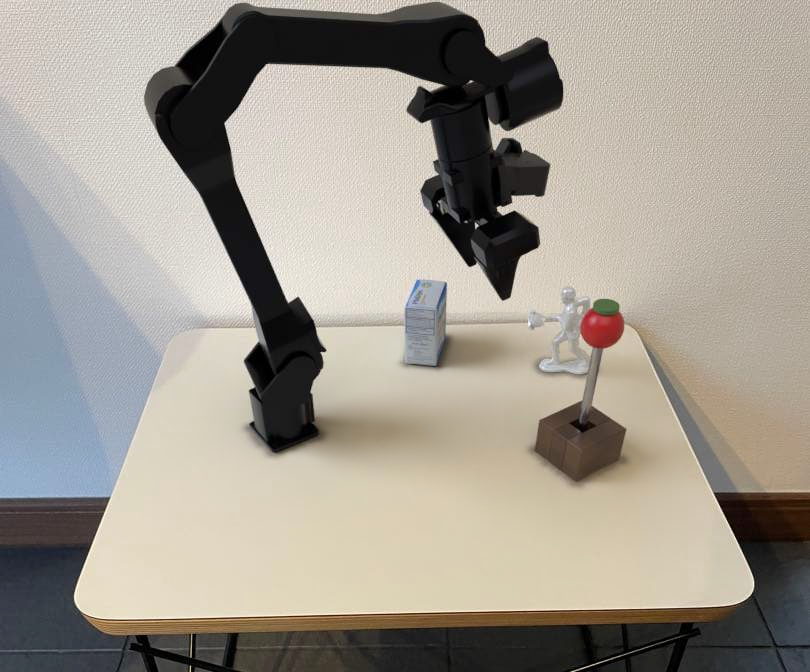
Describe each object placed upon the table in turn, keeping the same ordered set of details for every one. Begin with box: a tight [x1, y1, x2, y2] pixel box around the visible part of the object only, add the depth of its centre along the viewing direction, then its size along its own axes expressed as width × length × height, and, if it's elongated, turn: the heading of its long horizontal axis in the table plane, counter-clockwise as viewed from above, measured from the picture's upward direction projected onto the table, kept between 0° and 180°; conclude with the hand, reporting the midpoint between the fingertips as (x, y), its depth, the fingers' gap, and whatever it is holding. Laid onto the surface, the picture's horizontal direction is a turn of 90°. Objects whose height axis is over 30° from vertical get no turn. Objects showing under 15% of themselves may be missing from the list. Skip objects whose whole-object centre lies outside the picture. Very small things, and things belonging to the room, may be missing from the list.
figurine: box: [527, 285, 591, 376], centre depth 99 cm, size 5×9×12 cm, turn 96°
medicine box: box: [403, 279, 448, 367], centre depth 104 cm, size 8×4×9 cm, turn 168°
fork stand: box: [534, 400, 627, 483], centre depth 89 cm, size 7×7×4 cm
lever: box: [577, 298, 625, 433], centre depth 83 cm, size 4×4×19 cm
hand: (488, 281), depth 90 cm, fingers open, 9 cm apart
